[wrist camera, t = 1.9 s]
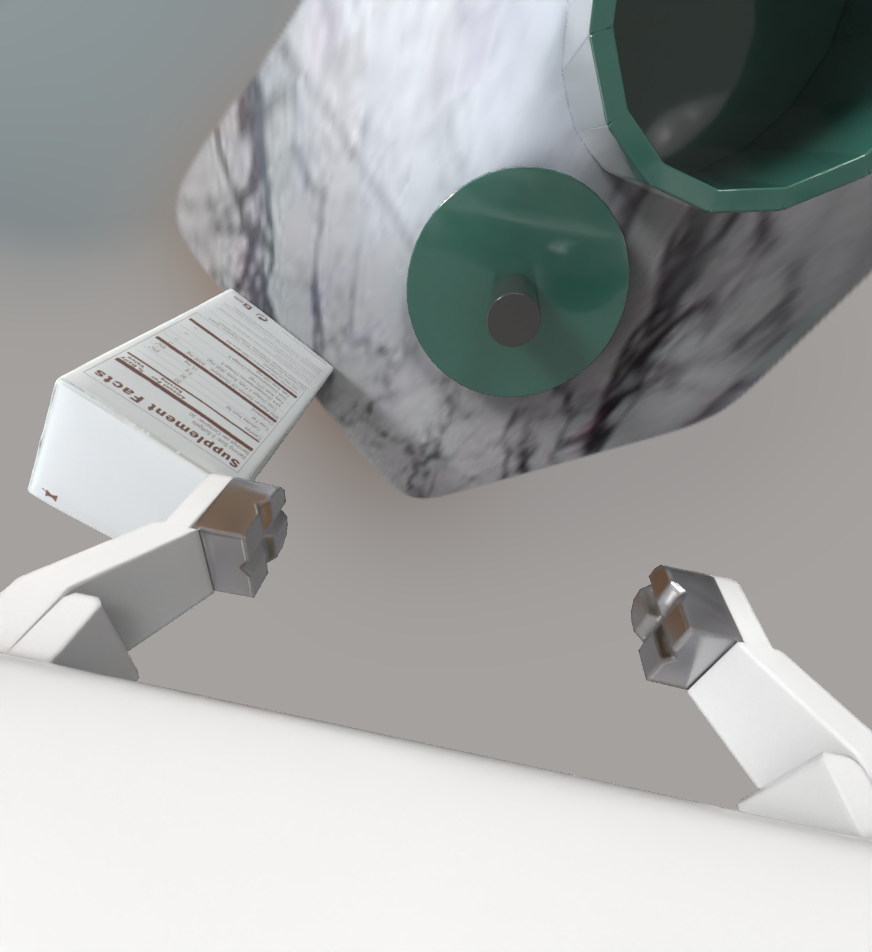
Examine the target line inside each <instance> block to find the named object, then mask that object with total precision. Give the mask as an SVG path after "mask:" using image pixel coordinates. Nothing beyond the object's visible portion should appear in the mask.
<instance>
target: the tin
mask: <svg viewBox="0 0 872 952" xmlns="http://www.w3.org/2000/svg"><path fill="white" fill-rule="evenodd" d="M562 72H563V73H562V76H563V80H564V86H565V92H566V98H567V104H568V107H569V111H570V114H571V117H572V121H573V124H574V128H575V130H576V133H577V134H578V136H579V137H580V138H581V140H582V142H583V143H584V145H585V146H586V148H587V150H588V151H589V152H590V153H591V155H592V156H593V157H594V158H595V159H596V160H597V161H598V163H599V164H600V165H601V167H602V168H603V169H604V170H605V171H606V172H608V173H610V174H612V175H614V176H617V177H619V178H621V179H622V180H625V181H627V182H629V183H631V184H634V185H636V186H638V187H640V188H642V189H644V190H647V191H650V192H652V193H655V194H658V195H660V196H663V197H666V198H669V199H671V200H674V201H677V202H679V203H682V204H685V205H688V206H690V207H693V208H696V209H698V210H701V211H704V212H709V213H726V212H758V211H780V210H784V209H787V208H789V207H792V206H794V205H797V204H799V203H802V202H804V201H807V200H809V199H812V198H814V197H816V196H819V195H821V194H824V193H826V192H829V191H831V190H834V189H836V188H839V187H841V186H844V185H846V184H849V183H851V182H853V181H856V180H858V179H861V178H863V177H865V176H867V175H868V174H870V173H872V0H569V1H568V11H567V21H566V28H565V35H564V47H563V65H562Z"/></svg>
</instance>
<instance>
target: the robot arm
mask: <svg viewBox="0 0 872 952" xmlns="http://www.w3.org/2000/svg"><path fill="white" fill-rule="evenodd" d="M285 502H286V499H285V491H284V489H282V488H281V487H277V486H273V485H268V484H265V483H260V482H256V481H251V480H247V479H243V478H238V477H232V476H227V475H223V474H219V473H215V472H214V473H212V474H209V475H207V476H206V477H205V478H204V480H203V481H202V482H201V483H200V484H199V485H198V486H197V487H196V488H195V489H194V490H193V491H192V493H191V494H190V495H189V496H188V497H187V498H186V499H185V500H184V501H183V502H182V503H181V504H180V506H179V507H178V508H177V509H176V510H175V511H174V512H173V513H172V514H171V515H170V516H169V517H168V519H167V520H166V521H165V522H160V521H156V522H153V523H151V524H148V525H146V526H143V527H141V528H138V529H136V530H134V531H131V532H129V533H126V534H124V535H121V536H119V537H116V538H114V539H112V540H109V541H107V542H104V543H102V544H99V545H97V546H94V547H92V548H89V549H87V550H85V551H82V552H80V553H77V554H75V555H72V556H70V557H68V558H65V559H63V560H60V561H58V562H55V563H53V564H50V565H48V566H46V567H43V568H41V569H38V570H36V571H33V572H31V573H28V574H26V575H24V576H21V577H19V578H17V579H16V580H15V581H14V582H13V583H12V584H10V585H9V586H8V587H7V588H6V589H5V590H4V591H2V592H1V593H0V952H872V731H871V730H870V729H868V727H867V726H865V725H864V724H863V723H862V722H861V721H860V720H859V719H857V718H856V717H855V716H854V715H853V714H852V713H851V712H850V711H848V710H847V709H846V708H845V707H844V706H843V705H842V704H840V703H839V702H838V701H837V700H836V699H835V698H834V697H833V696H832V695H830V694H829V693H828V692H827V691H826V690H825V689H823V688H822V687H821V686H820V685H819V684H818V683H817V682H816V681H815V680H813V679H812V678H811V677H810V676H809V675H808V674H807V673H806V672H804V671H803V670H802V669H801V668H800V667H799V666H798V665H797V664H795V663H794V662H793V661H792V660H791V659H790V658H789V657H788V656H786V655H785V654H784V653H783V652H782V651H780V650H776V649H773V648H772V646H771V644H770V642H769V640H768V638H767V637H766V634H765V633H764V631H763V629H762V627H761V625H760V623H759V621H758V619H757V617H756V615H755V614H754V611H753V609H752V608H751V606H750V604H749V602H748V600H747V598H746V596H745V594H744V592H743V590H742V588H741V586H740V585H739V584H738V583H737V582H736V581H735V580H734V579H731V578H725V577H720V576H715V575H710V574H709V575H707V574H704V573H699V572H693V571H688V570H683V569H678V568H673V567H668V566H663V565H660V566H658V567H656V568H655V569H654V570H653V571H652V573H651V574H650V575H649V578H650V581H651V585H649V586H647V587H644V588H642V589H640V590H639V592H638V593H637V595H636V596H635V598H634V600H633V605H632V610H631V619H632V625H633V630H634V632H635V633H636V634H637V636H638V637H639V638H640V639H641V640H642V641H643V644H642V646H641V648H640V649H639V653H640V658H641V661H642V665H643V669H644V673H645V677H646V680H648V681H652V682H656V683H661V684H664V685H669V686H673V687H677V688H681V689H686V690H688V691H687V693H688V695H689V696H690V697H691V699H692V700H693V701H694V703H695V704H696V705H697V707H698V708H699V709H700V711H701V712H702V713H703V715H704V716H705V717H706V719H707V720H708V721H709V723H710V724H711V726H712V727H713V728H714V730H715V731H716V732H717V734H718V735H719V737H720V738H721V739H722V741H723V742H724V743H725V745H726V746H727V747H728V749H729V750H730V751H731V753H732V754H733V755H734V757H735V758H736V760H737V761H738V762H739V764H740V765H741V766H742V768H743V769H744V770H745V772H746V773H747V774H748V776H749V777H750V779H751V780H752V781H753V783H754V784H755V785H756V787H757V788H758V790H757V791H755V792H753V793H751V794H750V795H748V796H746V797H745V798H743V799H741V801H740V802H739V803H738V805H737V808H738V810H733V809H729V808H724V807H719V806H715V805H710V804H705V803H700V802H696V801H691V800H687V799H682V798H678V797H673V796H668V795H664V794H659V793H654V792H650V791H645V790H640V789H636V788H631V787H626V786H621V785H617V784H612V783H608V782H603V781H598V780H594V779H589V778H585V777H580V776H575V775H570V774H565V773H561V772H557V771H552V770H547V769H543V768H538V767H533V766H529V765H524V764H519V763H515V762H510V761H505V760H500V759H496V758H492V757H486V756H482V755H477V754H473V753H468V752H463V751H459V750H454V749H450V748H445V747H440V746H435V745H431V744H426V743H422V742H417V741H412V740H408V739H403V738H398V737H393V736H389V735H384V734H380V733H375V732H370V731H366V730H361V729H356V728H352V727H347V726H342V725H337V724H333V723H328V722H324V721H319V720H314V719H309V718H305V717H300V716H295V715H291V714H286V713H281V712H277V711H272V710H268V709H263V708H258V707H253V706H249V705H244V704H240V703H235V702H230V701H225V700H221V699H216V698H212V697H207V696H202V695H198V694H193V693H188V692H184V691H178V690H174V689H170V688H165V687H160V686H156V685H151V684H146V683H142V682H137V680H138V679H139V675H138V671H137V668H136V667H135V665H134V663H133V661H132V659H131V657H130V655H129V653H128V651H129V650H131V649H132V648H134V647H135V646H137V645H138V644H139V643H141V642H143V641H144V640H145V639H147V638H148V637H150V636H151V635H153V634H154V633H156V632H157V631H159V630H160V629H162V628H163V627H165V626H166V625H167V624H169V623H170V622H172V621H173V620H175V619H176V618H178V617H179V616H181V615H182V614H184V613H185V612H186V611H188V610H189V609H191V608H192V607H194V606H195V605H197V604H198V603H200V602H201V601H203V600H204V599H206V598H207V597H208V596H210V595H211V594H213V593H214V591H220V592H225V593H231V594H236V595H242V596H247V597H253V598H254V597H255V595H256V593H257V592H258V590H259V588H260V586H261V584H262V583H263V581H264V579H265V578H266V576H267V574H268V569H267V563H268V562H269V561H271V560H273V559H275V558H277V556H278V554H279V552H280V551H281V549H282V547H283V544H284V541H285V537H286V534H287V526H288V523H287V516H286V515H285V514H284V512H283V511H282V510H281V509H282V507H283V505H284V504H285Z"/></svg>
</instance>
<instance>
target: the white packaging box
mask: <svg viewBox="0 0 872 952" xmlns="http://www.w3.org/2000/svg"><path fill="white" fill-rule="evenodd" d="M333 370H334V368H333V367H332V366H331V365H330V364H329V363H327V362H326V361H325V360H324V359H322V358H321V357H320V356H319V355H317V354H316V353H315V352H314V351H312V350H311V349H310V348H308V347H307V346H306V345H305V344H303V343H302V342H301V341H299V340H298V339H297V338H296V337H294V336H293V335H292V334H291V333H289V332H288V331H287V330H285V329H284V328H283V327H282V326H280V325H279V324H278V323H276V322H275V321H274V320H272V319H271V318H270V317H269V316H267V315H266V314H265V313H264V312H262V311H261V310H260V309H258V308H257V307H256V306H254V305H253V304H252V303H250V302H249V301H248V300H247V299H245V298H244V297H243V296H241V295H240V294H239V293H237V292H236V291H235V290H233V289H229V290H227V291H225V292H224V293H221V294H220V295H218V296H216V297H214V298H212V299H210V300H208V301H206V302H205V303H203V304H201V305H199V306H197V307H195V308H193V309H191V310H189V311H187V312H185V313H183V314H181V315H179V316H177V317H175V318H174V319H172V320H170V321H168V322H166V323H164V324H162V325H160V326H158V327H156V328H154V329H152V330H150V331H148V332H146V333H144V334H142V335H140V336H138V337H136V338H134V339H132V340H130V341H128V342H126V343H124V344H123V345H121V346H119V347H117V348H115V349H113V350H111V351H109V352H107V353H105V354H103V355H101V356H99V357H97V358H95V359H93V360H91V361H90V362H88V363H86V364H84V365H82V366H80V367H78V368H76V369H74V370H73V371H71V372H69V373H67V374H65V375H63V376H62V377H60V378H58V379H57V381H56V383H55V386H54V390H53V394H52V398H51V403H50V407H49V410H48V414H47V418H46V422H45V426H44V430H43V433H42V437H41V439H40V443H39V448H38V453H37V456H36V461H35V465H34V468H33V472H32V476H31V480H30V483H29V486H28V491H29V492H30V493H32V494H33V495H35V496H36V497H38V498H40V499H41V500H43V501H45V502H46V503H48V504H50V505H52V506H53V507H55V508H57V509H59V510H60V511H62V512H64V513H66V514H68V515H70V516H71V517H73V518H75V519H77V520H79V521H81V522H83V523H85V524H87V525H88V526H90V527H92V528H94V529H96V530H98V531H100V532H102V533H104V534H106V535H108V536H109V537H111V538H113V539H114V538H116V537H119V536H121V535H124V534H126V533H129V532H131V531H134V530H136V529H138V528H141V527H143V526H146V525H148V524H151V523H153V522H156V521H160V522H165V521H166V520H167V519H168V517H169V516H170V515H171V514H172V513H173V512H174V511H175V510H176V509H177V508H178V507H179V506H180V504H181V503H182V502H183V501H184V500H185V499H186V498H187V497H188V496H189V495H190V494H191V493H192V491H193V490H194V489H195V488H196V487H197V486H198V485H199V484H200V483H201V482H202V481H203V480H204V478H205V477H206V476H207V475H209V474H212V473H214V472H215V473H219V474H223V475H227V476H232V477H238V478H243V479H247V480H251V481H254V480H255V478H256V477H257V475H258V474H259V473H260V471H261V470H262V469H263V467H264V466H265V465H266V464H267V462H268V461H269V460H270V458H271V457H272V455H273V454H274V453H275V451H276V450H277V449H278V447H279V446H280V444H281V443H282V442H283V440H284V439H285V437H286V436H287V435H288V433H289V432H290V430H291V429H292V428H293V426H294V425H295V424H296V422H297V421H298V420H299V418H300V417H301V415H302V414H303V412H304V411H305V409H306V408H307V407H308V405H309V404H310V402H311V401H312V399H313V398H314V397H315V395H316V394H317V392H318V391H319V390H320V388H321V387H322V385H323V384H324V382H325V381H326V380H327V378H328V377H329V376H330V374H331V373H332V372H333Z"/></svg>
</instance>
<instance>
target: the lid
mask: <svg viewBox="0 0 872 952" xmlns="http://www.w3.org/2000/svg"><path fill="white" fill-rule="evenodd" d="M628 288H629V259H628V251H627V247H626V244H625V240H624V236H623V234H622V231H621V229H620V227H619V225H618V222H617V220H616V219H615V217H614V215H613V214H612V212H611V211H610V209H609V208H608V206H607V205H606V204H605V203H604V202H603V201H602V199H601V198H600V197H599V196H598V195H597V194H596V193H595V192H593V191H592V190H591V189H590V188H589V187H587V186H586V185H585V184H583V183H582V182H580V181H578V180H576V179H575V178H573V177H571V176H569V175H567V174H564V173H562V172H559V171H556V170H553V169H548V168H543V167H538V166H516V167H508V168H502V169H499V170H495V171H492V172H488V173H486V174H484V175H482V176H479V177H477V178H475V179H473V180H471V181H470V182H468V183H467V184H465V185H463V186H462V187H460V188H459V189H458V190H456V191H455V192H454V193H453V194H452V195H450V196H449V197H448V198H447V199H446V200H445V201H444V202H443V203H442V204H441V205H440V206H439V207H438V208H437V210H436V211H435V212H434V213H433V214H432V216H431V217H430V219H429V220H428V222H427V223H426V225H425V226H424V228H423V230H422V232H421V234H420V236H419V238H418V240H417V242H416V245H415V247H414V250H413V253H412V256H411V260H410V265H409V269H408V277H407V303H408V310H409V315H410V319H411V323H412V326H413V329H414V331H415V334H416V336H417V339H418V341H419V342H420V344H421V346H422V348H423V349H424V351H425V352H426V354H427V355H428V356H429V358H430V359H431V361H432V362H433V363H434V364H435V365H436V366H437V367H438V368H439V369H440V370H441V371H442V372H443V373H445V374H446V375H447V376H448V377H450V378H451V379H453V380H454V381H456V382H457V383H459V384H460V385H463V386H465V387H467V388H469V389H471V390H474V391H477V392H480V393H483V394H488V395H493V396H501V397H521V396H528V395H534V394H537V393H541V392H544V391H547V390H550V389H552V388H555V387H557V386H559V385H561V384H563V383H565V382H567V381H569V380H570V379H572V378H573V377H575V376H576V375H577V374H579V373H580V372H582V371H583V370H584V369H585V368H586V367H587V366H588V365H590V364H591V363H592V362H593V361H594V360H595V358H596V357H597V356H598V355H599V354H600V353H601V352H602V350H603V349H604V348H605V346H606V345H607V344H608V342H609V341H610V339H611V337H612V336H613V334H614V332H615V330H616V328H617V326H618V324H619V322H620V319H621V317H622V314H623V311H624V308H625V304H626V300H627V295H628Z"/></svg>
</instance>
